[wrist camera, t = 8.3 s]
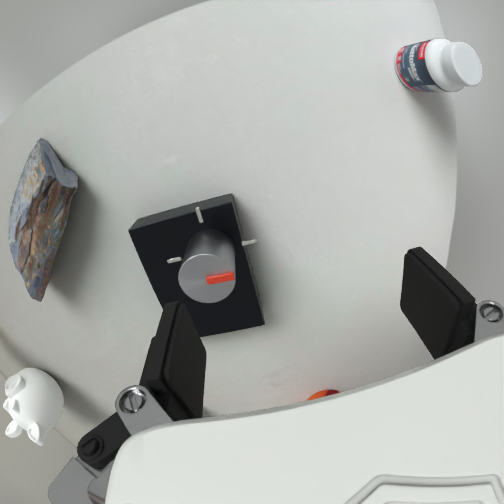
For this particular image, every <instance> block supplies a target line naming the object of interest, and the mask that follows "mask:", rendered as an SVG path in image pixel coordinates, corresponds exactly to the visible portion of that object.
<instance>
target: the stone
mask: <svg viewBox="0 0 504 504" xmlns="http://www.w3.org/2000/svg"><path fill="white" fill-rule="evenodd" d="M77 181H78V177H77V175H76V173H75V172H74V171H72V170H70V169H68V168H65V167H63V166H62V164H61V162H60V161H59V159H58V157H57V155H56V154H55V152H54V150H53V149H52V148H51V146H50V145H49V143H48V142H47V141H46V140H44V139H42V138H41V139H39V140H38V141H37V144H36V145H35V147H34V149H33V150H32V152H31V153H30V155H29V158H28V160H27V163H26V165H25V168H24V170H23V173H22V175H21V177H20V181H19V183H18V186H17V189H16V192H15V195H14V199H13V202H12V206H11V210H10V218H9V233H8V237H9V245H10V250H11V253H12V256H13V260H14V264H15V266H16V268H17V270H18V271H19V272H20V274H21V275H22V277H23V279H24V282H25V285H26V288H27V290H28V292H29V294H30V296H31V297H32V299H35V300H37V301H40V302H41V301H42V299H43V297H44V294H45V290H46V288H47V285H48V283H49V280H50V277H51V273H52V262H53V260H54V258H55V256H56V253H57V251H58V247H59V244H60V241H61V238H62V235H63V232H64V230H65V227H66V225H67V223H68V221H67V218H68V215H69V209H70V204H71V200H72V197H73V195H75V193H76V190H77V188H78V183H77Z"/></svg>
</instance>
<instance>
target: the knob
mask: <svg viewBox="0 0 504 504" xmlns="http://www.w3.org/2000/svg"><path fill="white" fill-rule="evenodd" d="M178 279H179V284H180V286H181V288H182V290H183V291H184V292H185V294H186V295H188V296H189V297H190V298H192V299H194V300H196V301H199V302H203V303H214V302H218V301H221V300H223V299H224V298H226V297H227V296H228V295H229V294H230V293H231V292H232V290H233V288H234V286H235V247H234V244H233V242H232V240H231V239H230V237H229V236H228V235H227V234H225V233H224V232H222V231H219V230H216V229H205V230H201V231H199V232H197V233H196V234H194V235H193V236H192V237H191V239H190V240H189V243H188V245H187V248H186V252H185V255H184V258H183V261H182V264H181V267H180V270H179V275H178Z"/></svg>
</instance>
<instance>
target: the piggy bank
mask: <svg viewBox="0 0 504 504" xmlns="http://www.w3.org/2000/svg"><path fill="white" fill-rule="evenodd" d="M5 391H6V395H7V396H8V399H6V401H5V402H4V404H3V408H4V409H6V410H7V411H8V412H9V413H10V415H11V417H12V418H13V421H12V422H11V423H10V424H9V425H8V427H7V428H6V431H5V433H6V435H7V436H9V437H10V438H14V437H17V436H19V435H20V434H21V432H22V429H25V430H27V431H28V436H29V438H30V439H31V440H33V441H34V442H35V443H37V444H38V445H40V446H42V445H43V444H44V440H45V434H46V433H48V432H49V431H51V430H52V429H53V427H54V426H55V425H56V423H57V422H58V420H59V418H60V416H61V413H62V410H63V406H64V397H63V393H62V390H61V388H60V387H59V385H58V384H57V382H56V381H55V380H54V379H53V378H52V377H51V376H50V375H48V374H47V373H45V372H44V371H42V370H39V369H36V368H25V369H22V370H20V371H19V372H18V373H17V374H16V375H13V376H11V377H9V378H8V379H7V381H6V383H5Z"/></svg>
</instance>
